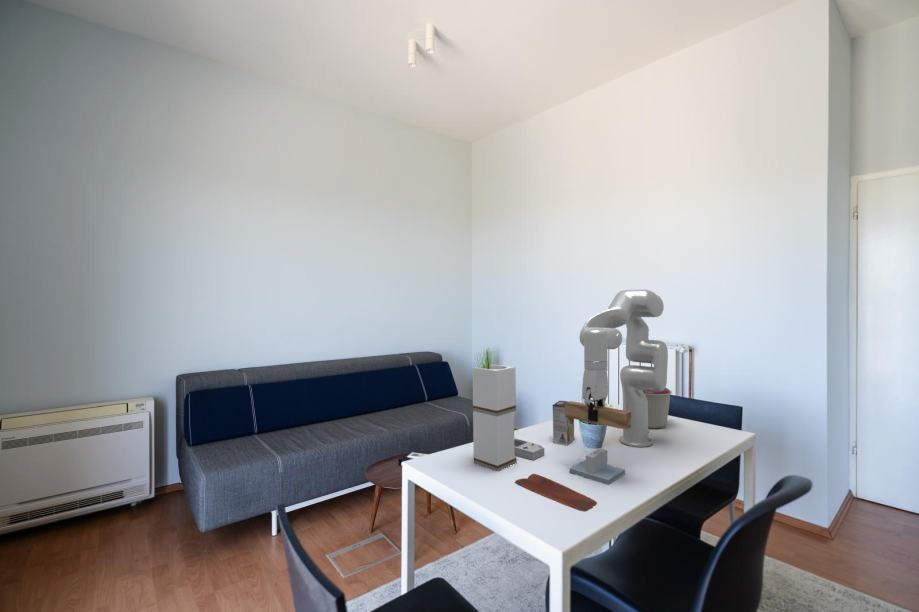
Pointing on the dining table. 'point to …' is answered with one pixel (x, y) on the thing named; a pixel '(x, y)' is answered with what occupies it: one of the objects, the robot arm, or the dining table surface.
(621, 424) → the walnut batten
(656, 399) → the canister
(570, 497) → the wooden tablet
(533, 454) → the handheld gaming device
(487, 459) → the tall square planter
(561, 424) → the coffee box
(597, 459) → the ridge stand
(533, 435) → the dining table surface
